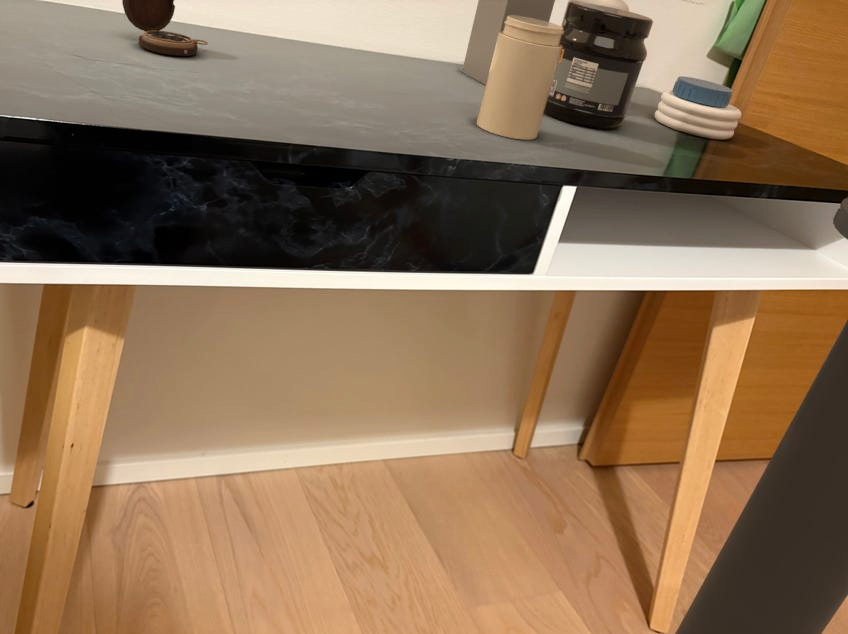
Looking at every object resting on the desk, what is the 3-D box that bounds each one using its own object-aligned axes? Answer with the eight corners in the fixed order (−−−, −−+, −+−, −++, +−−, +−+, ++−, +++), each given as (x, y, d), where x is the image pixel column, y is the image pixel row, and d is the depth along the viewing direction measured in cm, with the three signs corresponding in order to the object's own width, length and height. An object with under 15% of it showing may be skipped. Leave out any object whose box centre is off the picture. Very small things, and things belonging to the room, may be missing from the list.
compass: (160, 58, 82) (164, -19, 79) (118, 38, 87) (120, -35, 83) (223, 57, 88) (229, -14, 84) (180, 39, 92) (185, -30, 88)
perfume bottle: (504, 76, 110) (541, -69, 101) (530, 90, 105) (572, -63, 96) (461, 72, 108) (496, -79, 99) (486, 85, 102) (525, -72, 93)
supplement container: (600, 112, 101) (633, 10, 95) (636, 136, 92) (675, 26, 86) (522, 99, 99) (551, -5, 93) (552, 123, 90) (586, 9, 84)
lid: (737, 110, 100) (743, 95, 99) (685, 101, 98) (691, 85, 97) (712, 97, 105) (717, 82, 104) (663, 88, 104) (668, 73, 103)
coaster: (745, 139, 103) (757, 112, 101) (705, 142, 97) (717, 113, 95) (679, 116, 109) (689, 89, 107) (638, 116, 103) (647, 88, 101)
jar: (549, 140, 83) (581, 32, 77) (501, 139, 79) (532, 26, 74) (510, 121, 87) (538, 17, 82) (464, 119, 84) (490, 11, 78)
